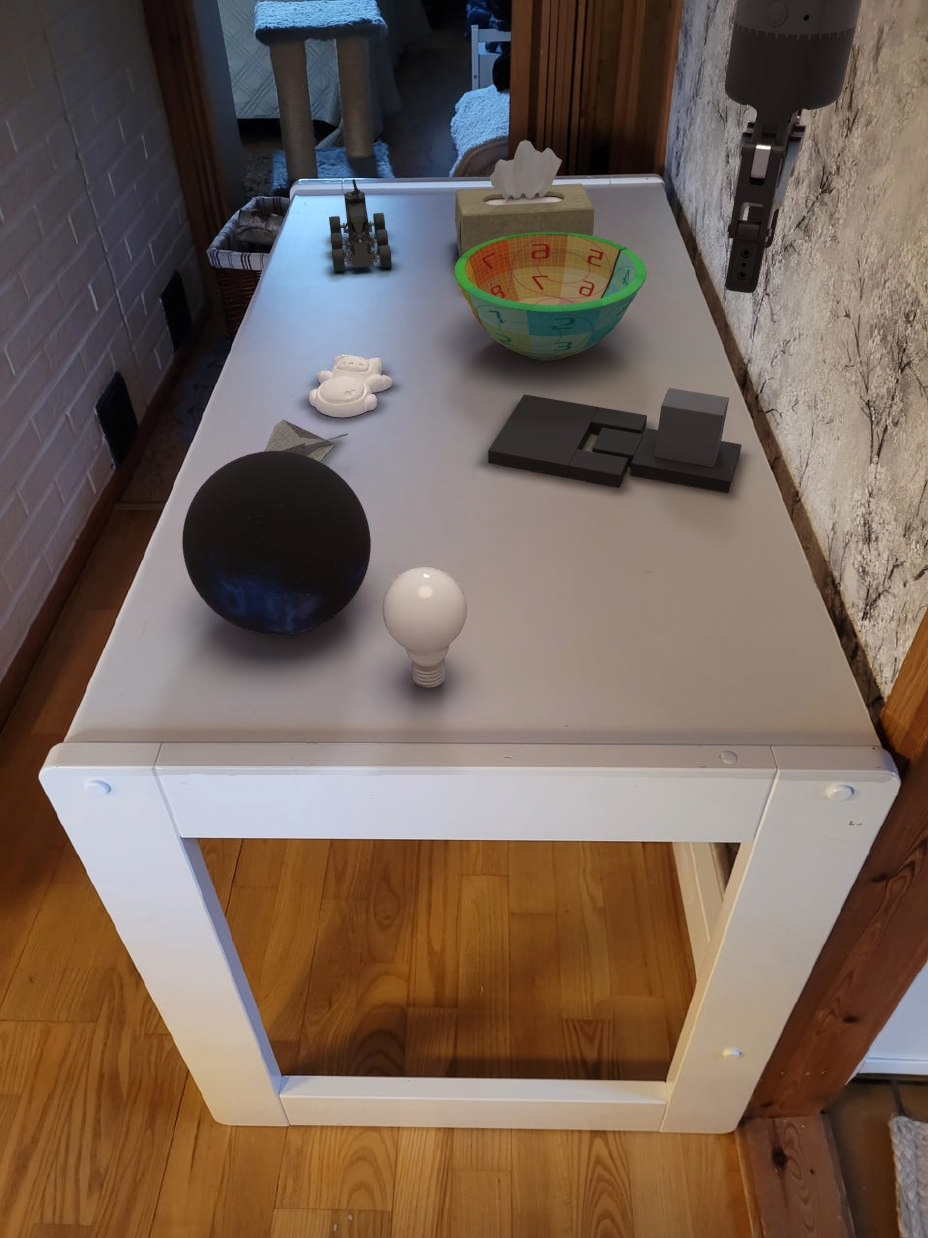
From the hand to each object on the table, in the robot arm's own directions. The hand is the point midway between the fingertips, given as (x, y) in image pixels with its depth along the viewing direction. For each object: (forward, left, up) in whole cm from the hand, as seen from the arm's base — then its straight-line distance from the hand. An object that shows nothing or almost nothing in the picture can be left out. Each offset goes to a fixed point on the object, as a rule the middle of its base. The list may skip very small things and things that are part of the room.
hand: (749, 266), depth 71 cm
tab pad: (+6, -12, -26) cm, 29 cm away
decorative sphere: (+32, +21, -26) cm, 46 cm away
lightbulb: (+17, +25, -26) cm, 40 cm away
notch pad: (+16, -12, -26) cm, 33 cm away
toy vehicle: (+59, -52, -26) cm, 83 cm away
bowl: (+25, -32, -26) cm, 48 cm away
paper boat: (+40, +2, -26) cm, 48 cm away
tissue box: (+36, -58, -26) cm, 73 cm away
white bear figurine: (+43, -15, -26) cm, 53 cm away
